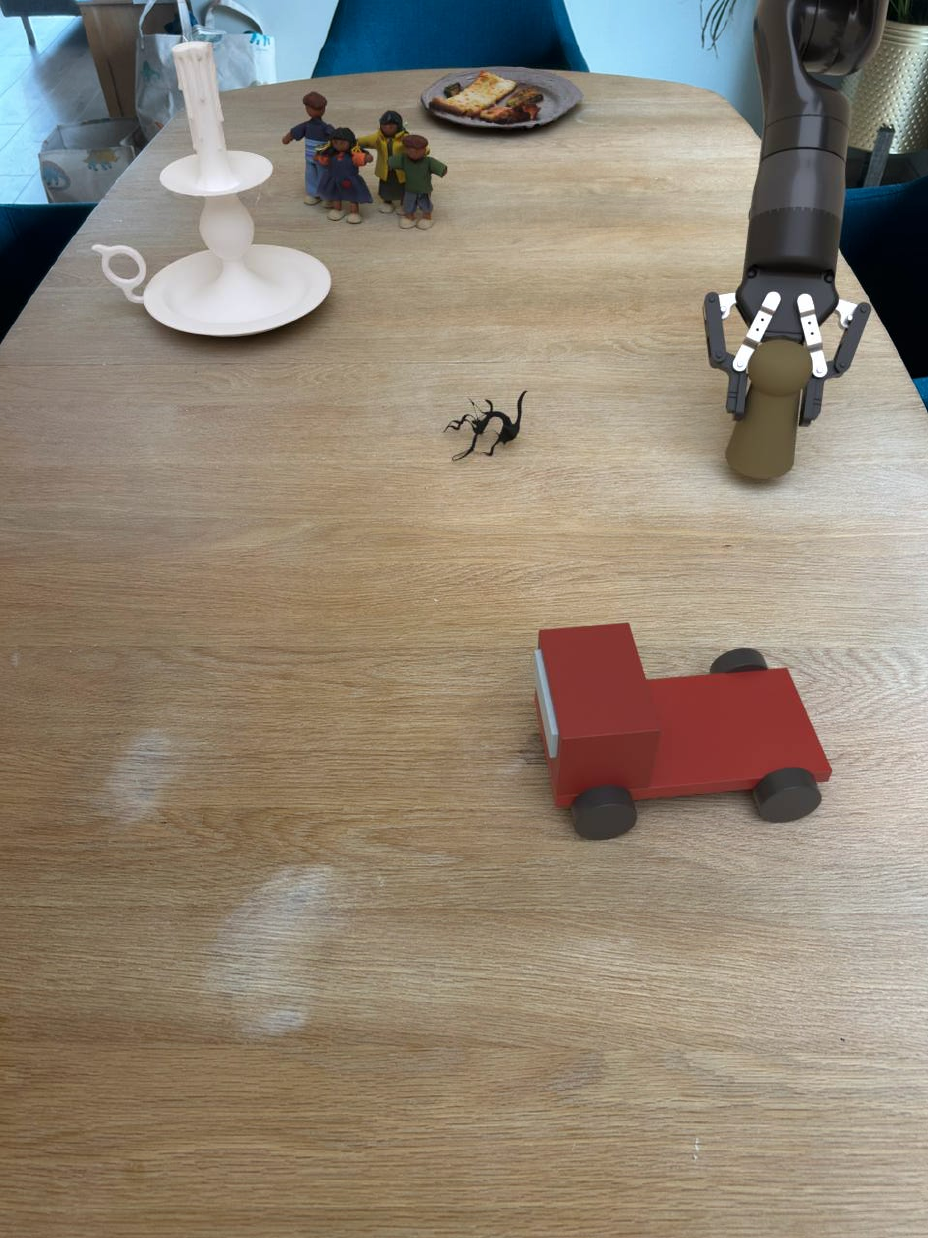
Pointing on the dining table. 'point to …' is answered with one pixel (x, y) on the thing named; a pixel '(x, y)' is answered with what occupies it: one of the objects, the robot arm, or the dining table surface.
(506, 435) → the creature
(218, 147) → the candlestick
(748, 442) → the brown peg doll
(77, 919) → the dining table surface
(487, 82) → the food plate
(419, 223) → the doll family
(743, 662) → the toy truck
